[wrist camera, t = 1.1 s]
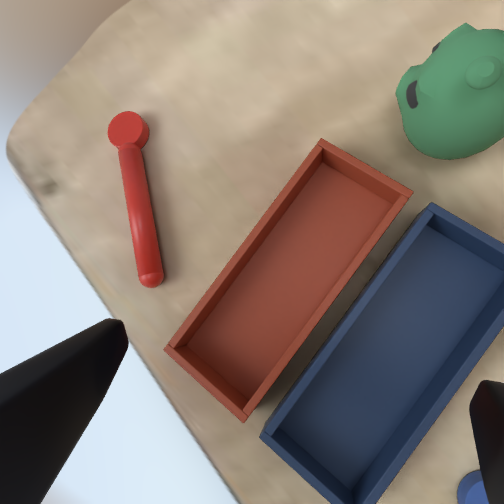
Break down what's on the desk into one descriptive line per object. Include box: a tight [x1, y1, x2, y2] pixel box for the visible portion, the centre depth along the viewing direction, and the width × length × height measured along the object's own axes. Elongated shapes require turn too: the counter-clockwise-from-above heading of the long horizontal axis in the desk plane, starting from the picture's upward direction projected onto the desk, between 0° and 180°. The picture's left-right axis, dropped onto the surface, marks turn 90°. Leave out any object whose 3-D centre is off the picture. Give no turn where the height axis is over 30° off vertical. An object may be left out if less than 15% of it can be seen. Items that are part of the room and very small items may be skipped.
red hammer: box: [108, 111, 164, 288], centre depth 29 cm, size 17×4×2 cm, turn 14°
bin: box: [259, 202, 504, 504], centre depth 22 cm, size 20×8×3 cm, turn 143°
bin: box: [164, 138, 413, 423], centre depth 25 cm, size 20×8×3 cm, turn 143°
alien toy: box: [396, 23, 504, 160], centre depth 21 cm, size 7×8×10 cm
